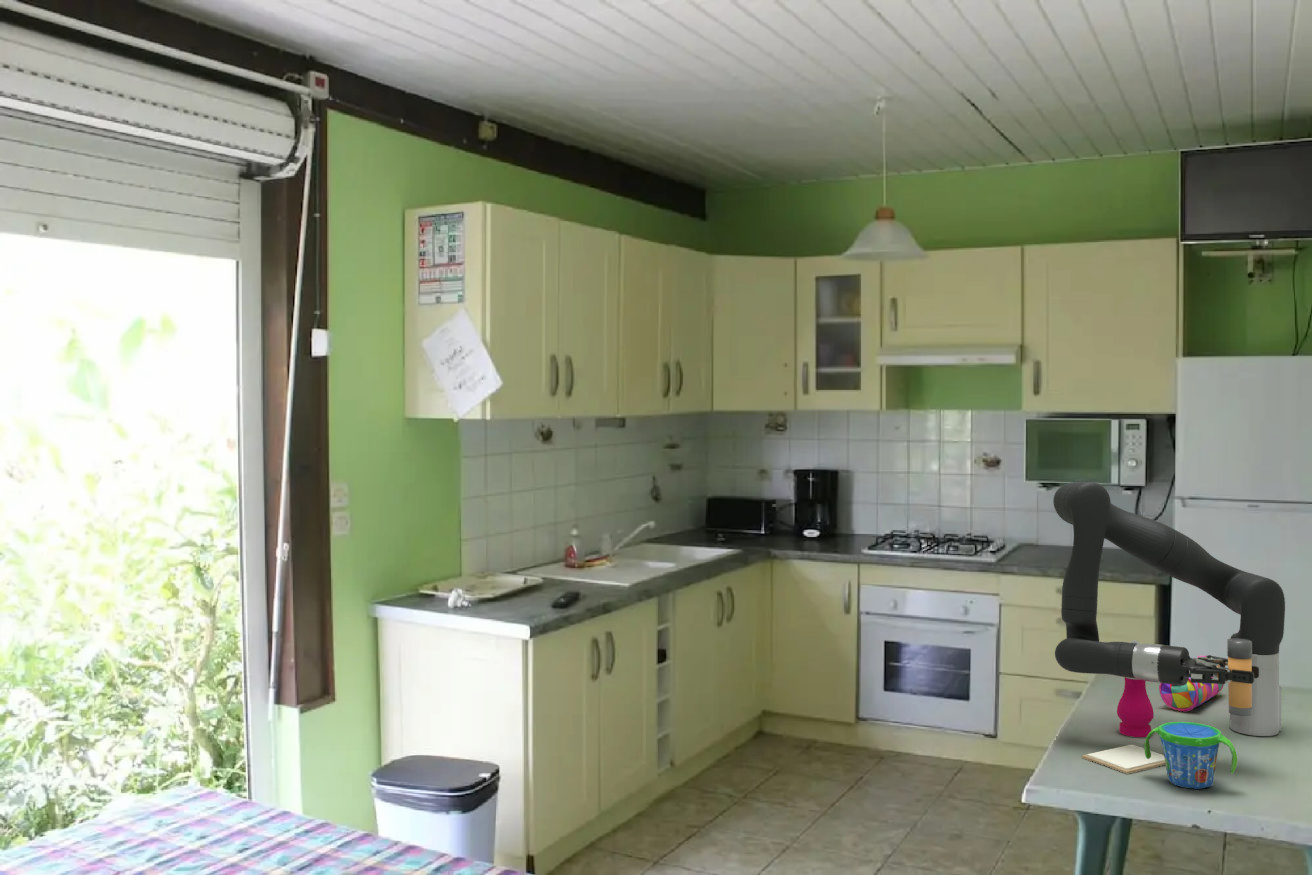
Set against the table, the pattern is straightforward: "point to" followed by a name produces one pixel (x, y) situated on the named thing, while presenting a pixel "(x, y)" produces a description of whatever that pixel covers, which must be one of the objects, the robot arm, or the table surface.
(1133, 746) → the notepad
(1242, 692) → the orange grey cylinder
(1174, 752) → the snack cup
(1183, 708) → the pencil case
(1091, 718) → the table surface
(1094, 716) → the table surface
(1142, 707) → the pepper mill
